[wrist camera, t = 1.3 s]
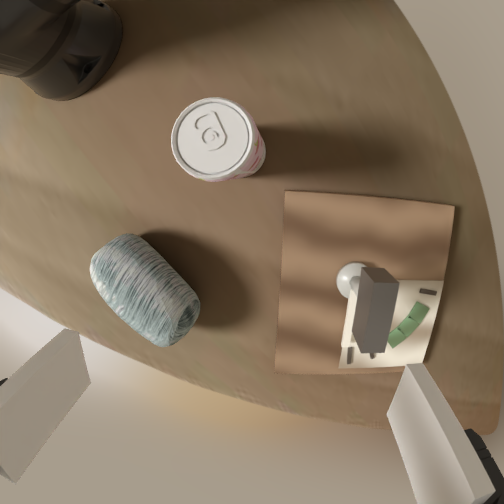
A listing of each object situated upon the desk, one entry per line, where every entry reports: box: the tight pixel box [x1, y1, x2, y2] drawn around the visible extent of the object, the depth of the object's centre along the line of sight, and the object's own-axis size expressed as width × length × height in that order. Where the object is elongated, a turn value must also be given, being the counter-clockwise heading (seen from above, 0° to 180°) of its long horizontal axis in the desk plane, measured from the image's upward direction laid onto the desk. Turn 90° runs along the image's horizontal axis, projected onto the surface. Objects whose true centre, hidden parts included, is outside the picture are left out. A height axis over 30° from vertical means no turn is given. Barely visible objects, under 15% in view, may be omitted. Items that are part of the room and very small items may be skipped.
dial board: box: [274, 190, 455, 374], centre depth 34 cm, size 22×20×2 cm
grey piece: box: [336, 261, 400, 353], centre depth 29 cm, size 11×4×10 cm, turn 178°
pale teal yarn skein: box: [90, 234, 200, 347], centre depth 33 cm, size 14×10×10 cm
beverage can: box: [171, 97, 266, 182], centre depth 25 cm, size 6×6×15 cm
